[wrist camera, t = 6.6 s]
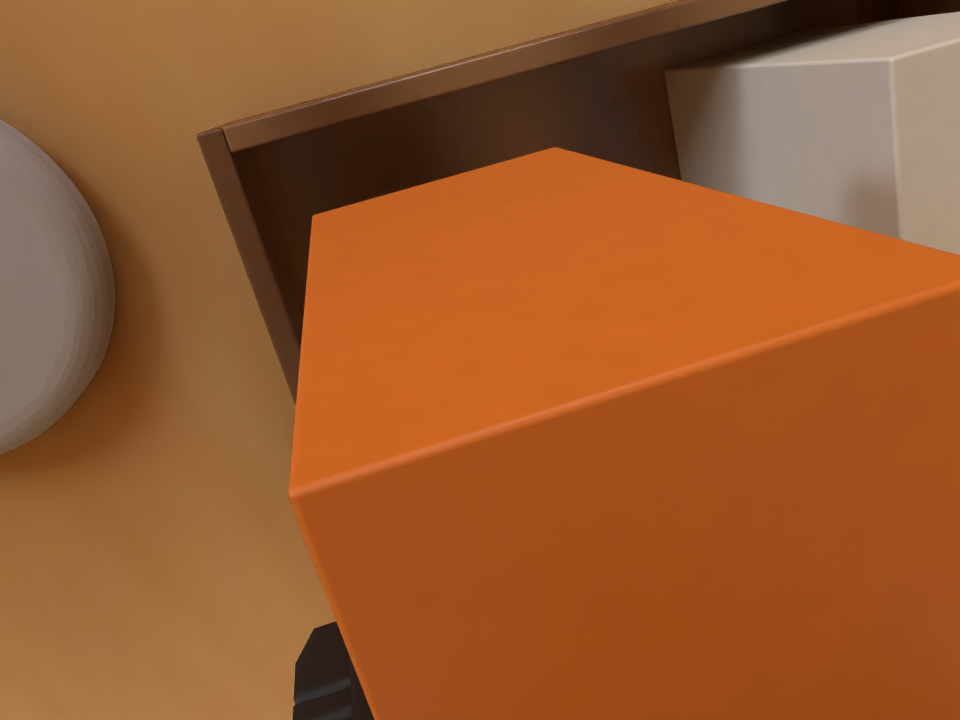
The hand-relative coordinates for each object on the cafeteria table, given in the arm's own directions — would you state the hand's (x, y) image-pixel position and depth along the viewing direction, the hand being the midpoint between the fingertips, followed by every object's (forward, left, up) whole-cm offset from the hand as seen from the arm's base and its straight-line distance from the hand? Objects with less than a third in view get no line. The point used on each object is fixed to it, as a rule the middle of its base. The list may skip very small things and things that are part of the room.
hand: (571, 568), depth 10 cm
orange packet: (0, 0, -4) cm, 4 cm away
